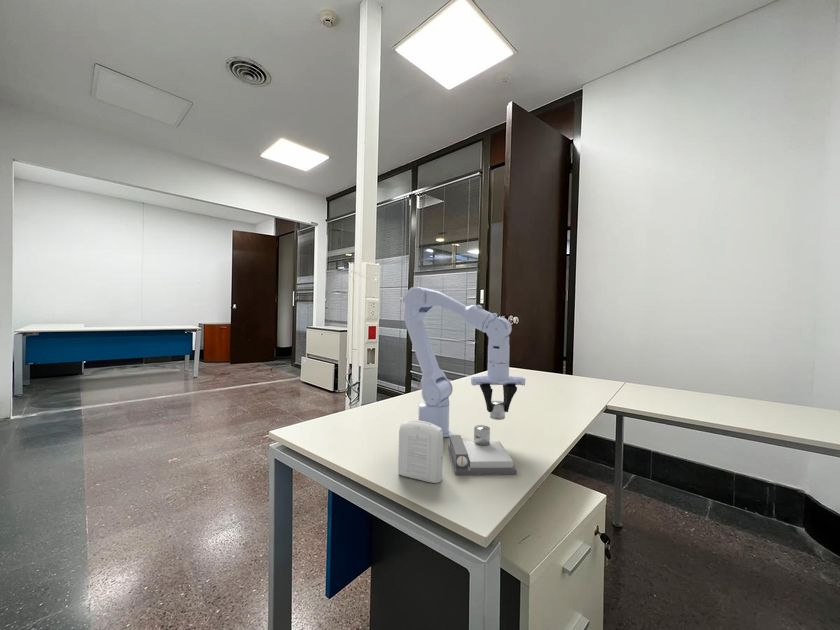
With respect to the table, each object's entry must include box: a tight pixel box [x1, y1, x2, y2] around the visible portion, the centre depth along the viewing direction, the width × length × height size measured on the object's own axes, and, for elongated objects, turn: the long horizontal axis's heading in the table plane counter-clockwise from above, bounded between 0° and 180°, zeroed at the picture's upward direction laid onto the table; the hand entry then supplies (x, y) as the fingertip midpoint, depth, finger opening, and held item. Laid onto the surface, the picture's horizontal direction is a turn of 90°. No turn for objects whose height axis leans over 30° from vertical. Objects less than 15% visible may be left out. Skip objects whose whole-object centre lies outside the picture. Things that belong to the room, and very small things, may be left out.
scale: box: [447, 434, 518, 476], centre depth 81 cm, size 14×13×4 cm
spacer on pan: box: [473, 424, 491, 446], centre depth 85 cm, size 4×4×4 cm
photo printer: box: [397, 419, 444, 484], centre depth 73 cm, size 10×4×12 cm, turn 69°
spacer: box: [489, 400, 506, 421], centre depth 90 cm, size 4×4×4 cm
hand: (497, 410), depth 90 cm, fingers closed on spacer, 4 cm apart
